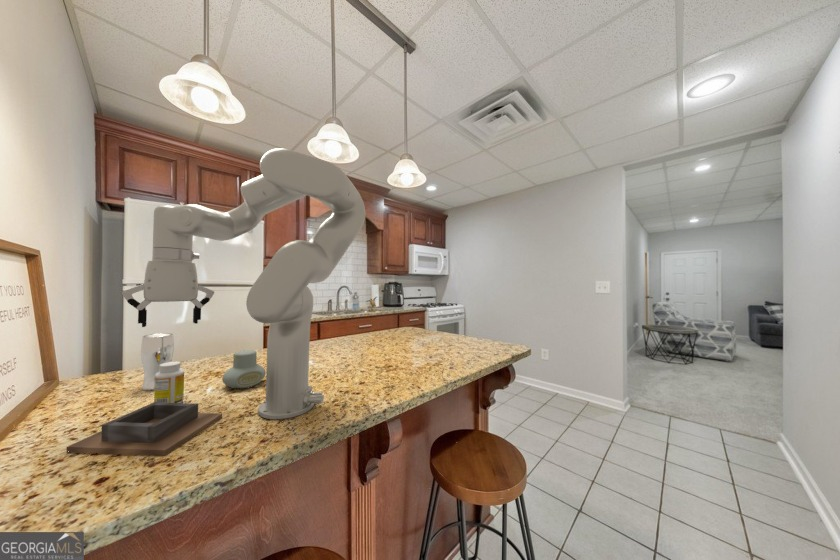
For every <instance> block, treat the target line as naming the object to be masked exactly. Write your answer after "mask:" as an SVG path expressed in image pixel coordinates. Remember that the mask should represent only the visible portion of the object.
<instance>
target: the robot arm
mask: <svg viewBox="0 0 840 560" xmlns="http://www.w3.org/2000/svg"><path fill="white" fill-rule="evenodd" d="M259 170H260V173H261V174H260V175H258V176H256V177H253V178H251V179H249V180H247V181H244V182H243V183H242V184H241V186H240V193H241V197H242V199H243V202H242V203H241V204H240V205H239V206H237V207H235V208H232V209H231V210H228V211H226V212H224V213H223V212H220V211H218V210H215V209H212V208H209V207H206V206H203V205H199V204H195V203H193V204H192V203H191V204H190V203H188V204H183V205H177V206H173V205H159V206H158V205H157V206H156V207H155V209H154V210H153V227H152V228H153V231H152V259H151V260H148V261H147V265H146V268H145V273H144V281H143V284H139V285H137V286H135V287H131V288H128V289H126V290H123V291H122V292H121V295H122V296H123V298H124V299H125V301H126V302H127V304H129V305H130V306H132V307H134V308H135V309H136V310H138V311H137V313H138V316H137V324H141V328H145V327H147V314H148V313H147V312H148V309H146V308H147V306H149V305H151V303H152V302H153V303H155V302H158V303H160V302H161V303H162V302H163V303H165V302H167V303H169V302H170V303H171V302H191V303H192V304H193V305H194V307H193V308H192V309H193V311H192V313H193V314H192V323H193V324H198V323H199V321H200V320H201V319H202V308H203V307H204V306H205V305H206V304H207V303H209V302H210V300H211V299H212V298H213V296H214V295H215V291H214V290H212V289H209V288H207V287H204V286H202V285H200V284H198V280H199V279H198V273H197V265H196V263H195V262H193V261H194V260H197V259H198V260H199V259H200V253H196V252H194V250H193V245H194V244H193V242H194V241H193V239H194V238H193V236H195V237H200V238H205V239H209V240H215V241H220V242H221V241H222V242H223V241H228V240H232V239H235V238H237V237H240V236H242V235H245V234H247V233H249V232H251V231H252V230H253V229H255V228H256V227H257V226H258V225H259V223H260V222H261V221H262V220H263V219H264V216H266V215H268V214H270V213H271V212H274V211H276V210H278V209H280V208H283V207H285V206H287V205H289V204H291V203H293V202H296V201H298V200H300V199H302V198H305V197H306V196H308V197H310V198H313V199H316V200H318V201H320V202H321V203H322V204H323V205H324V206H326V207H327V208H329V209H330V210H331V214H330V216H328V218H326V219H325V220H324V221H323V222H322V223H321V224H320V225H319V227H318V228H317V230H316V231H315V233H314V234H313V235H312V236H311V238H310V239H309V240H302V239H295V240H292V241H289V242H287V243H285V244H283V245H282V246H281V247H280V248H279V249H278V250H277V251H276V252H275V254H273V256H272V258H271V259H270V261H269V262H268V264H267V265H266V266H265V267H264V269H263V270H262V272H261V273H260V274H259V276H258V277H257V279H256V280H255V281H254V283H253V284H252V286H251V288H250V290H249V291H248V294H247V296H246V301H245V302H246V303H245V304H246V310H247V312H248V314H249V316H250V317H251V318H252V319H253V320H255V321H256V322H259V323H260V324H261V323H262V324H267V325H268V324H269V328H268V332H267V338H266V339H267V345H266V369H265V372H266V374H265V376H266V377H265V383H266V384H265V400H264V401H263V402H261V403H260V404H259V405H258V408H257V414H258V415H259V417H262V418H263V419H268V420H285V419H291V418H294V417H297V416H298V417H299V416H302V415H304V414H305V413H307V412H309V411H310V410H311V409H313V407H314V406H315V404H323V403H324V401H325V395H323V392H321V391H317V392H316V391H315V392H314V391H313V386H312V385H309V374H310V373H309V367H310V341H311V339H310V336H311V334H310V333H311V323H312V322H311V321H312V315H313V311H314V296H313V293H312V290H311V289H310V288H309V287H308V286H309V284H317V283H322V282H324V281H326V280H327V279H328V278H329V276H330V275H331V274H332V273H333V271H334V269H335V268H336V266H337V265H338V264H339V263H340V260H342V258H343V256H344V255H345V254H346V252H347V251H348V249H349V247H350V246H351V245H352V243H353V242H354V240H355V239H356V238H357V237H358V235H359V233H360V232H361V230H362V228H363V227H364V225H365V220H366V207H365V203H364V200H363V197H362V196H361V194H360V192H359V190H358V189H357V188H356V187H355V185H354V183H353V182H352V181H351V180H350V179H349V177H348V175H346V173H345V171H343V170H342V169H341V168H340V167H339V166H337V165H335V164H333V163H332V162H329V161H327V160H323V159H322V158H321V159H320V158H317V157H314V156H311V155H307V154H305V153H301V152H298V151H295V150H292V149H288V148H283V147H282V148H273V149H270V150H268V151H267V152H265V153H264V154H263V155H262V157H261V159H260V161H259ZM141 291H143V298H144V300H143V301H142V300H141V302H139V301H138V300H136V299H135V298H134V296H133V294H136V293H138V292H141ZM199 291H200V292H201V293H204V294H205V297H203V298H202V299H201V300H200V301H199V300H198V294H199Z"/></svg>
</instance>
